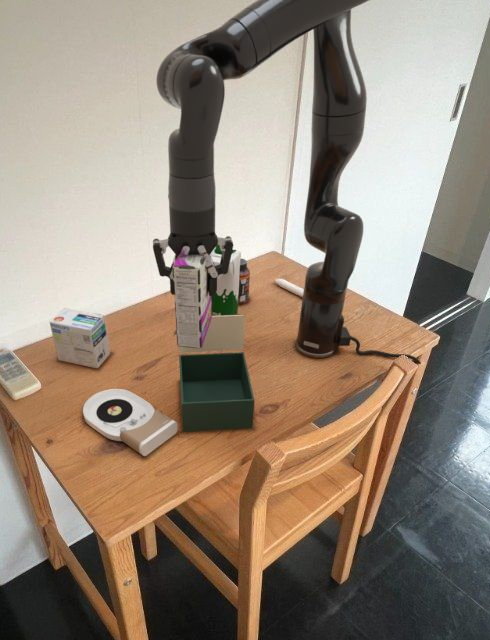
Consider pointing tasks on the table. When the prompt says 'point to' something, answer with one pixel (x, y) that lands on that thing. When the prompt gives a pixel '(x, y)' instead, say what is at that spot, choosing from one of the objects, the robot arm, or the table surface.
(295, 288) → the marker
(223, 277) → the milk carton
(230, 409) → the dark green open box
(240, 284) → the supplement bottle
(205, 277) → the candy bar box
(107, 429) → the record player
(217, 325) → the flap
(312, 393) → the table surface
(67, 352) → the light bulb box
